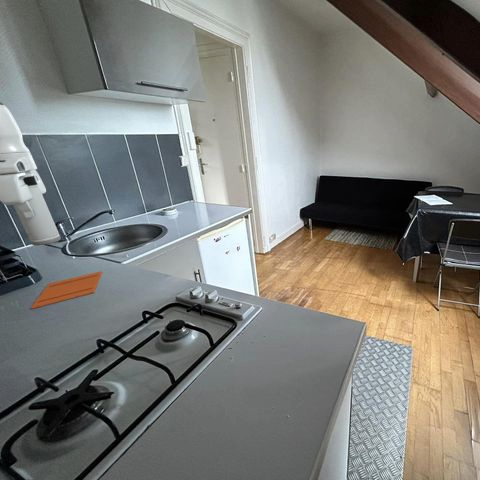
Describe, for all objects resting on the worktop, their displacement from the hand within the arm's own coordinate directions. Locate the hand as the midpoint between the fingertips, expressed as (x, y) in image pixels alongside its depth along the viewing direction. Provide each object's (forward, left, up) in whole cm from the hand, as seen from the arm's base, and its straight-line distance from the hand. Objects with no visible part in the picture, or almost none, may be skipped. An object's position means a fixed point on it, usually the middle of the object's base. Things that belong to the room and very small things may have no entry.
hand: (35, 214), depth 75 cm
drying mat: (+1, -2, -24) cm, 24 cm away
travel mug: (0, 0, -9) cm, 9 cm away
